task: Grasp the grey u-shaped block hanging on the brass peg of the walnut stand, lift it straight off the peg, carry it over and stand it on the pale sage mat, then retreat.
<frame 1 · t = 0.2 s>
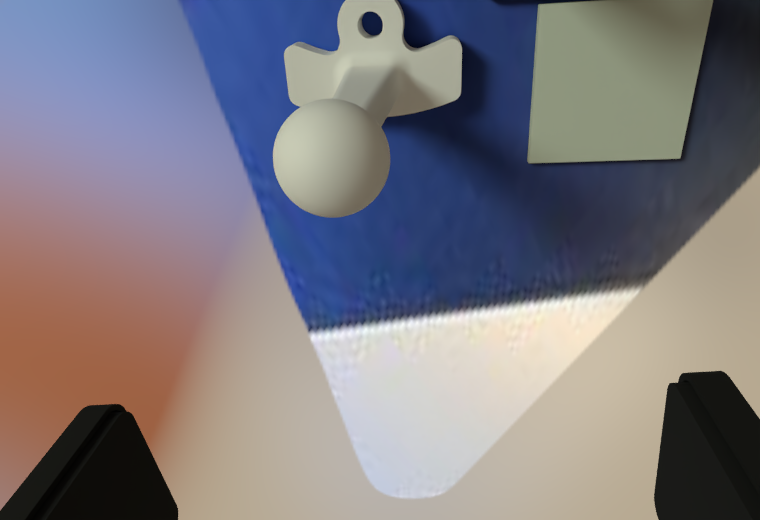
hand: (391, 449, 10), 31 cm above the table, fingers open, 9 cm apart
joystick: (375, 51, 36), on the table
mat: (611, 83, 35), on the table
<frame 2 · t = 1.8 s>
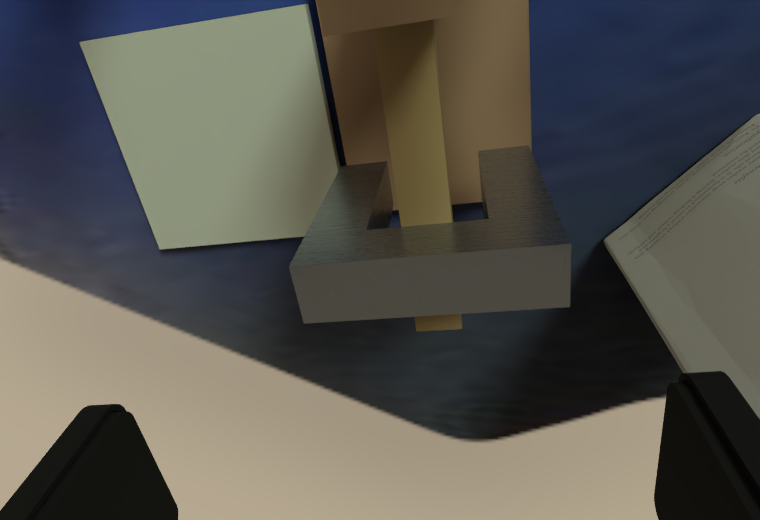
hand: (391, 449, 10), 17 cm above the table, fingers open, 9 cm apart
skincare box: (713, 211, 24), on the table
mat: (227, 139, 25), on the table
grey u-shaped block: (434, 178, 21), point 4 cm above the table, touching stand
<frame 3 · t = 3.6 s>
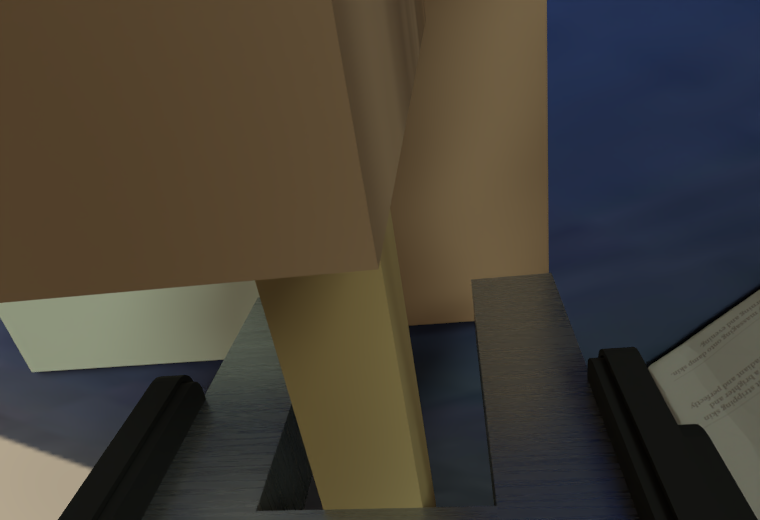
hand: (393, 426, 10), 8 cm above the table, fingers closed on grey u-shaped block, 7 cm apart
mat: (112, 230, 17), on the table
grey u-shaped block: (403, 317, 13), point 4 cm above the table, touching gripper, stand
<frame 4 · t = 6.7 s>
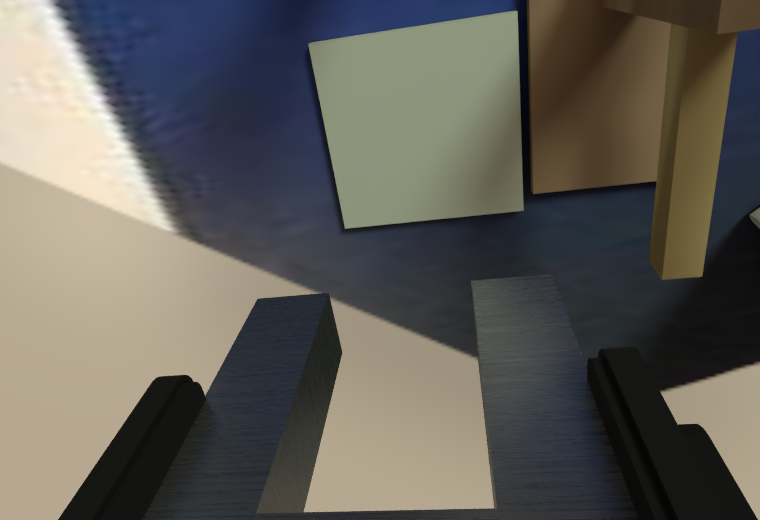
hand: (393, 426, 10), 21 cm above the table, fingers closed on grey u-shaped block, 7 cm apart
mat: (422, 128, 28), on the table
grey u-shaped block: (403, 318, 13), point 17 cm above the table, touching gripper
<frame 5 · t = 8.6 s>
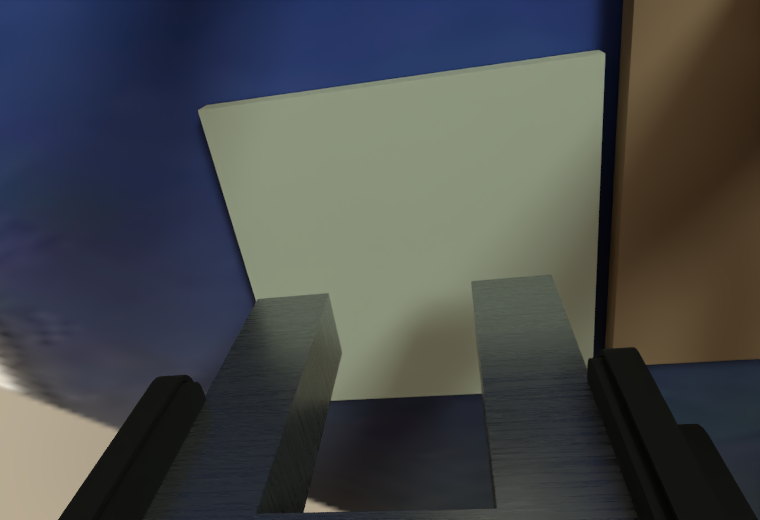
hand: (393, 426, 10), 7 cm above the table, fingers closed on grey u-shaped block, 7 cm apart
mat: (415, 253, 16), on the table
grey u-shaped block: (403, 318, 13), point 3 cm above the table, touching gripper
when the fingers open (5 cm above the table, at t = 10.0 s): grey u-shaped block stays where it is, resting on mat.
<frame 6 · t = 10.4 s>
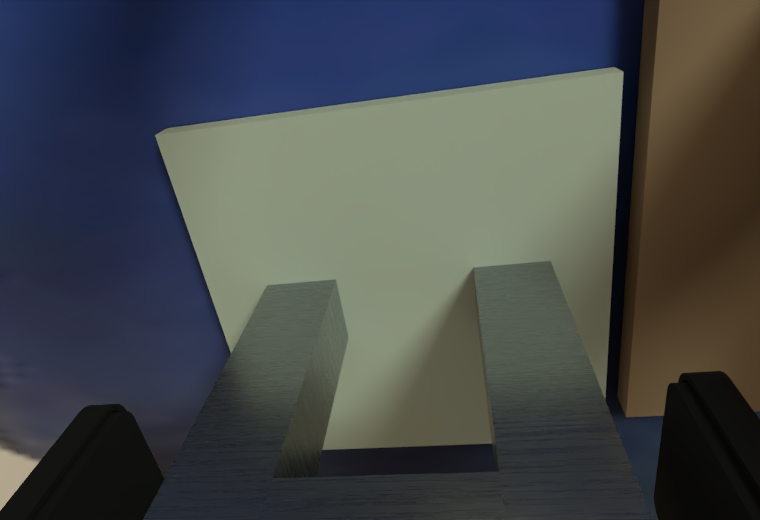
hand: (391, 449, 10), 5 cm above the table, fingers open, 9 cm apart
mat: (405, 292, 14), on the table
grey u-shaped block: (407, 304, 14), point 1 cm above the table, touching mat
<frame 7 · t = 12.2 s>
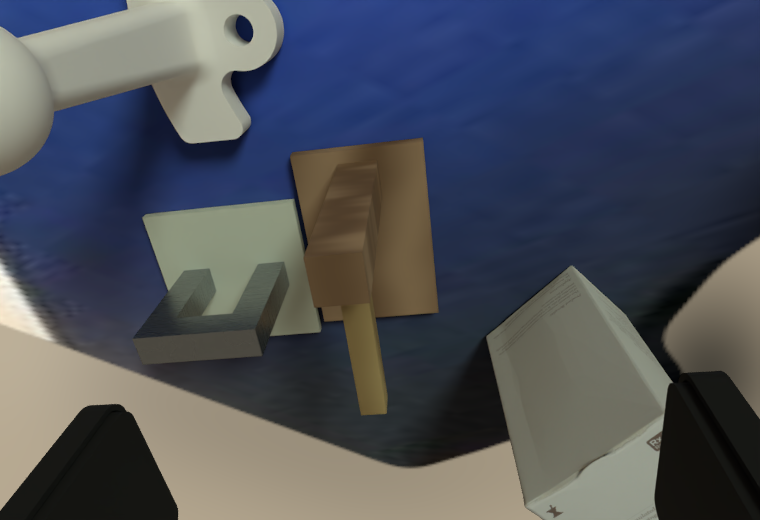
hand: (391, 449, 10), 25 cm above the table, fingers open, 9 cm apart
stand: (361, 176, 34), on the table
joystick: (219, 30, 30), on the table
skincare box: (553, 318, 38), on the table
mat: (238, 273, 37), on the table
grey u-shaped block: (236, 277, 37), point 1 cm above the table, touching mat
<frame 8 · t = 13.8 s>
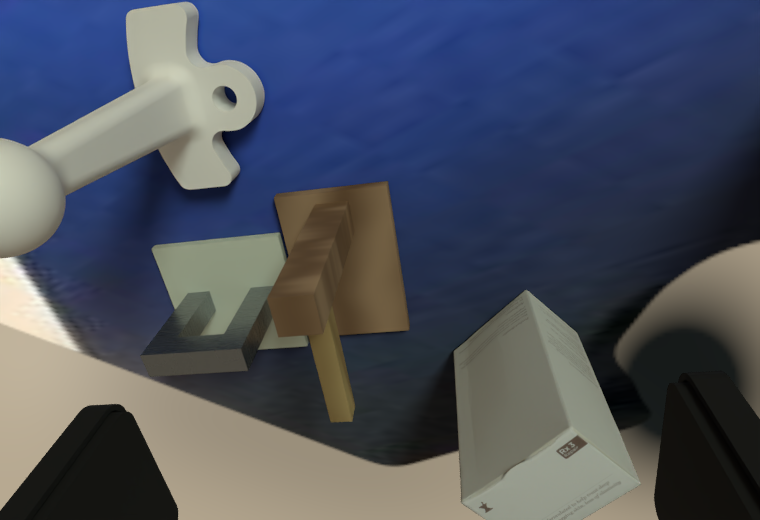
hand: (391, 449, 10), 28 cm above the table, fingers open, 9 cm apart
stand: (336, 213, 39), on the table
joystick: (211, 94, 36), on the table
skincare box: (513, 336, 42), on the table
mat: (234, 295, 43), on the table
grey u-shaped block: (233, 299, 42), point 1 cm above the table, touching mat
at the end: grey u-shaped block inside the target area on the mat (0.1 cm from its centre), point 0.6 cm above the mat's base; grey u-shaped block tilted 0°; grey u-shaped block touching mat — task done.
